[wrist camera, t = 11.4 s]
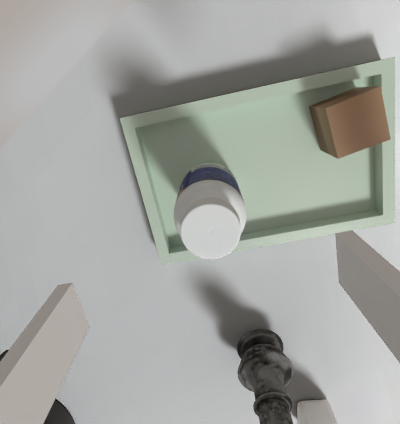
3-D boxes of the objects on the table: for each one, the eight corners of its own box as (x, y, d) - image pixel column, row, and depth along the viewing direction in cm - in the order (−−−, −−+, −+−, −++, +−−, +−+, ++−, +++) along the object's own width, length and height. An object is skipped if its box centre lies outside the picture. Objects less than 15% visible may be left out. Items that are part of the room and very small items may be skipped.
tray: (164, 254, 33) (161, 264, 31) (125, 116, 28) (119, 118, 26) (383, 215, 31) (394, 223, 29) (381, 59, 26) (394, 57, 24)
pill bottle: (175, 166, 29) (160, 200, 20) (233, 156, 29) (246, 186, 19) (186, 220, 31) (177, 274, 22) (241, 212, 30) (256, 263, 21)
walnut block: (320, 150, 28) (338, 159, 24) (308, 106, 27) (325, 108, 23) (365, 133, 28) (390, 139, 24) (355, 87, 26) (380, 86, 23)
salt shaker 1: (225, 340, 37) (234, 449, 25) (272, 319, 35) (302, 424, 24) (249, 374, 38) (267, 490, 27) (294, 355, 37) (332, 469, 26)
